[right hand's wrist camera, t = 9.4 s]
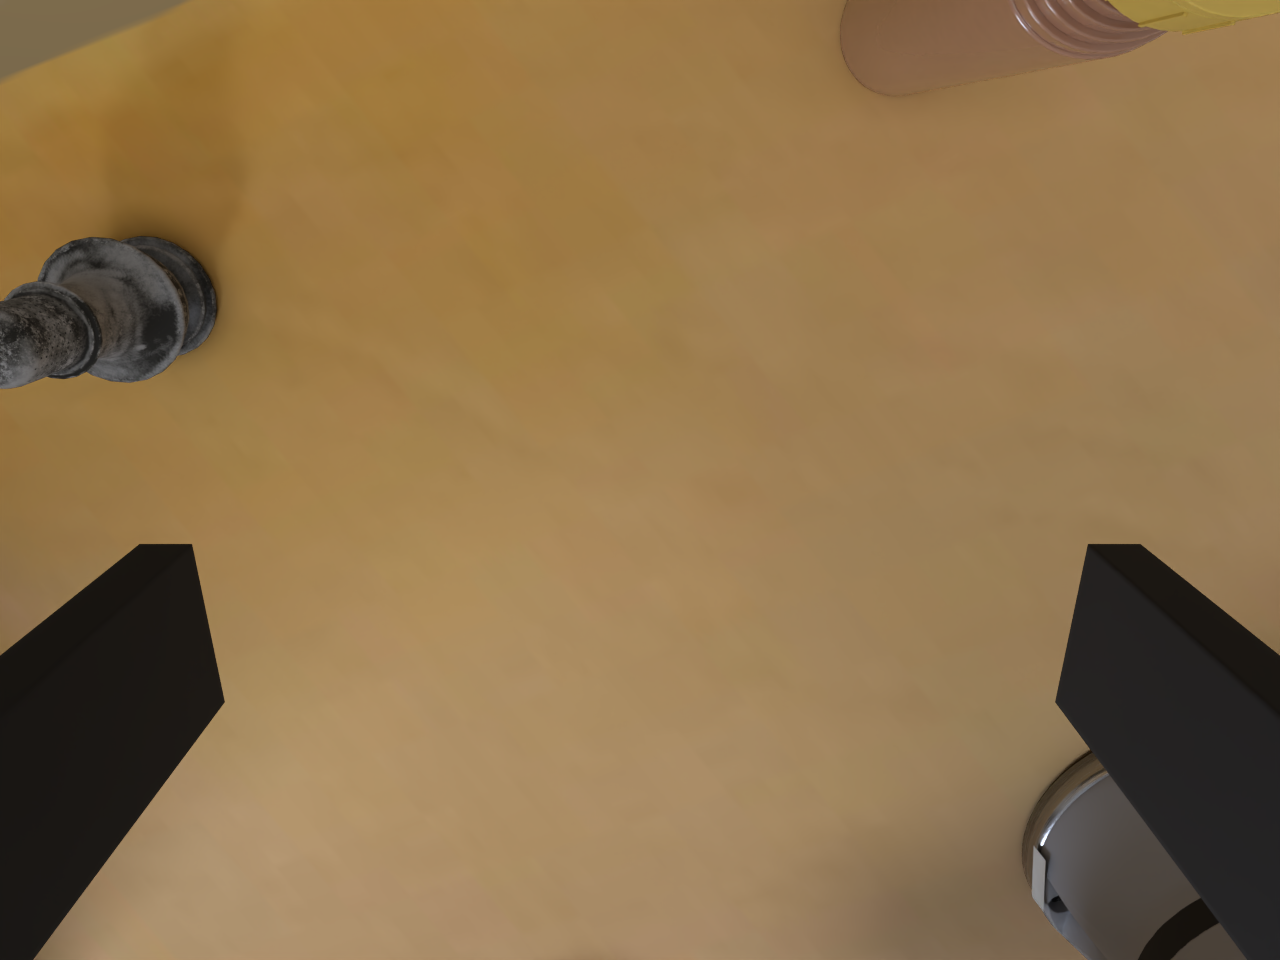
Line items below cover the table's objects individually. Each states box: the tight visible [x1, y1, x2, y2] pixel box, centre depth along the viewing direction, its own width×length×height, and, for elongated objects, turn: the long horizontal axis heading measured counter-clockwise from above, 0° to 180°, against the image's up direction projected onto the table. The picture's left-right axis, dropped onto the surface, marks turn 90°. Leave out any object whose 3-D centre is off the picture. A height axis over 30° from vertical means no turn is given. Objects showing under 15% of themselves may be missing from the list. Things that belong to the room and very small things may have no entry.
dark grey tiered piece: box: [0, 236, 217, 389], centre depth 33 cm, size 6×6×12 cm
